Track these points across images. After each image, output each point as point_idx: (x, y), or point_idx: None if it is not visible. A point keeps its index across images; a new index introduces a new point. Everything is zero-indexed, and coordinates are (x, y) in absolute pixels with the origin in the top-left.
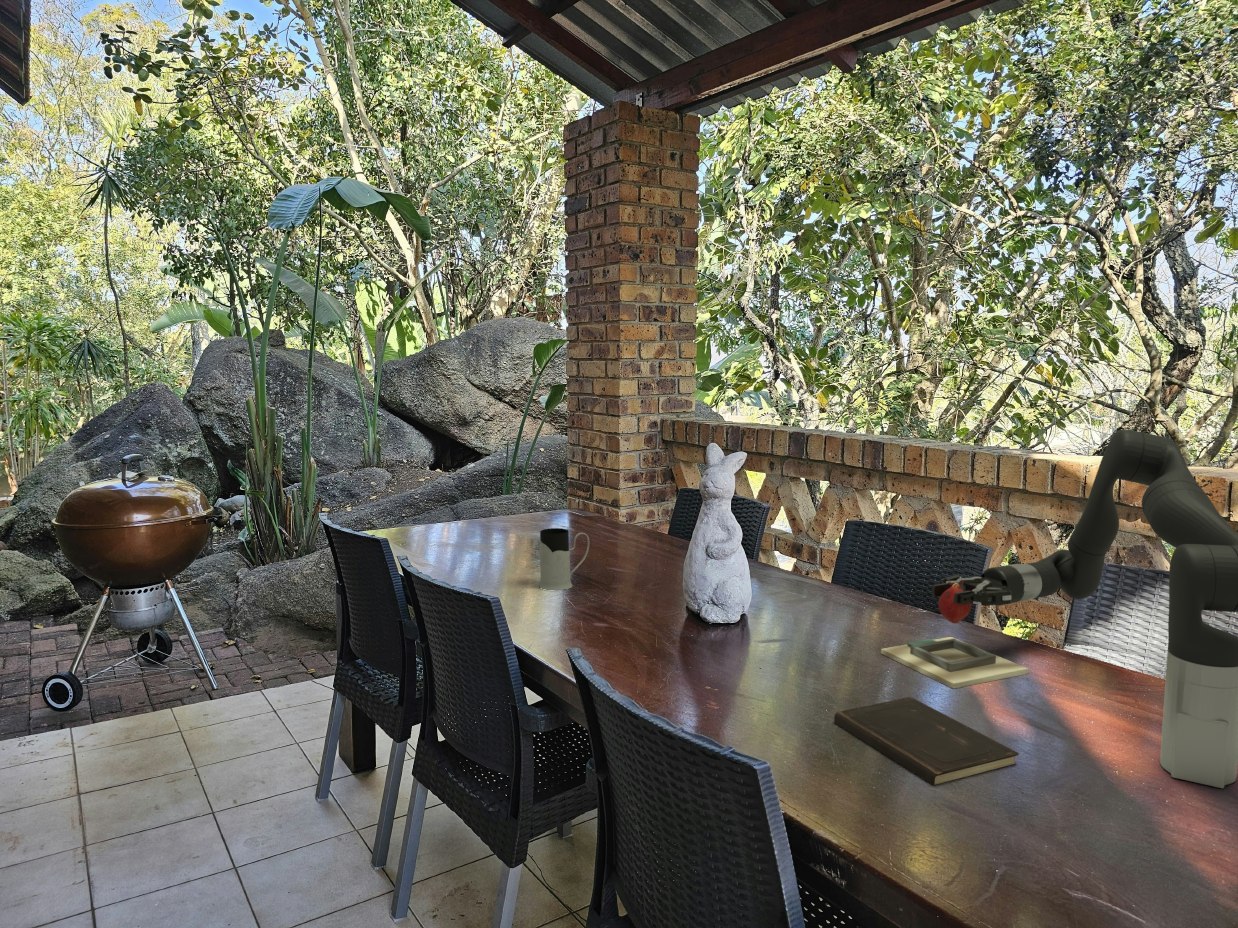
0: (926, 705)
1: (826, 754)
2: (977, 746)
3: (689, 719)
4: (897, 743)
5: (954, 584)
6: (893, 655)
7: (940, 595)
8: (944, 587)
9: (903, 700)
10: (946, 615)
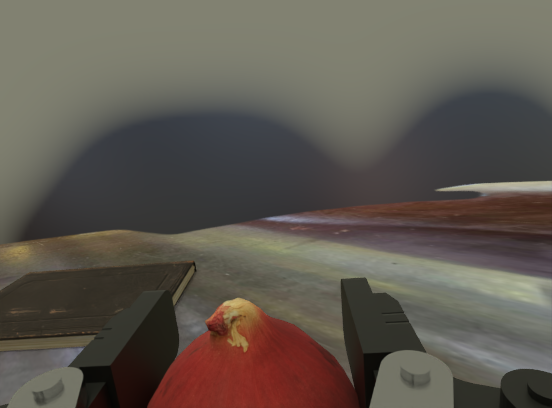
0: None
1: (153, 252)
2: None
3: (279, 218)
4: (92, 271)
5: (237, 300)
6: None
7: (352, 370)
8: (354, 342)
9: None
10: None
